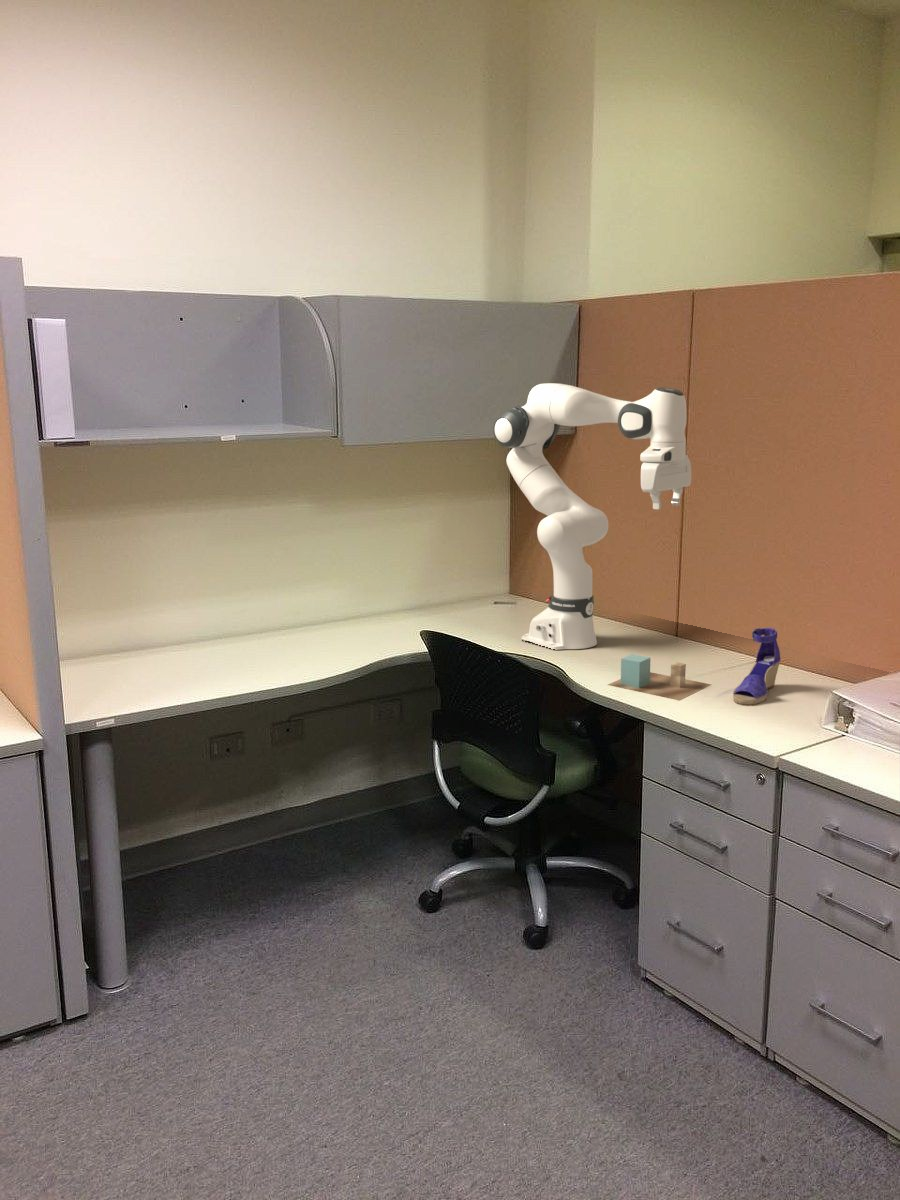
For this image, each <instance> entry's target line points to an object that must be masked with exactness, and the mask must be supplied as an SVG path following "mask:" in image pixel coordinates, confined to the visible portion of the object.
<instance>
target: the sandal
mask: <svg viewBox="0 0 900 1200" xmlns="http://www.w3.org/2000/svg"><path fill="white" fill-rule="evenodd" d="M751 635H752V636H751V638H752V640H753V642H756V643H760V645H759V648H758V651H757V654H756V658H755V662H754V664H753V665H752V666H751V668H750V670H749V672H748V674H747V675H746V676H745V677H744V678H743V680H742V681H741V683H740V684H739V685H738V686H737V687H736V688H735V689H734V690H733V693H732V698H733V702H734V703H735V704H737V705H741V706H754V705H759V704H761V703H764V702H765V701H766V700H767V697H768V690H770V689H773V688H774V687H775V683H776V678H777V674H778V671H779V666H780V664H781V663H780V662H781V653H780V651H781V650H780V647H779V645H778V642H777V639H778V631H777V630H776V629H775V628H772V627H765V628H764V627H763V628H760V627H759V628H755V629H753V630H752V631H751Z"/></svg>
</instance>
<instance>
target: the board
mask: <svg viewBox="0 0 900 1200" xmlns="http://www.w3.org/2000/svg"><path fill="white" fill-rule="evenodd" d="M670 681H671V675H665V674H661V673H656V672H653V671H652V672H651V671H650V683H649V684H647V685H645V686H643V687H640V688H636V687H631V686H626V685H622V684H621V678H619V679H617V680H615V681H612V682H610V683H608V684H607V686H610V687H614V688H615V687H616V688H619V689H620V688H621V689H623V690H624V689H625V690H629V691H634V692H637V693H638V692H639V693H642V694H647V695H652V696H656V697H661V698H666V699H671V700H676V701H678V702H679V701H682V700H684V699H686V698H688V697H690V696H692V695H694V694H695V693H697V692H700V691H701V690H702V691H703V690H704V689H706V688H707V687H710V686H712V684H711V683H706V682H700V681H695V680H691V679H686V678H685V686H683V687H681V688H678V687H673V686H670Z"/></svg>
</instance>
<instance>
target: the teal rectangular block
mask: <svg viewBox="0 0 900 1200" xmlns="http://www.w3.org/2000/svg"><path fill="white" fill-rule="evenodd" d="M620 659H621V660H620V679H621V684H622V685H626V686H631V687H636V688H640V687H643V686H645V685H647V684H649V683H650V672H651V657H649V656H644V655H638V654H633V653H632V654H630V655H626V656H624V657H623V658H620Z"/></svg>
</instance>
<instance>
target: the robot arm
mask: <svg viewBox="0 0 900 1200" xmlns="http://www.w3.org/2000/svg"><path fill="white" fill-rule="evenodd" d="M687 411H688V410H687V400H686V397H685V394H684V392H682V391H681V390H679V389H677V388H671V387H657V388H654V390H652V392H651V393H649V394H647V396H645V397H643V398H641V399H637V400H634V401H629V400H625V399H618V398H613V397H609V396H607V395H604V394H601V393H597V392H593V391H591V390H588V389H584V388H582V387H577V386H574V385H570V384H566V383H565V384H564V383H554V382H553V383H552V382H550V383H549V382H547V383H539V384H537V385H535V386H534V387H532V388H531V390H530V391H529V394H528V396H527V401H526V403H525V404H524V405H522V406H520V405H515V406H514V407H512V408H509V409H508V410H505V411H504V412H502V413H500V414H498V416H497V417H496V418H495V420H494V422H493V426H492V431H493V436H494V439H495V441H496V442H497V443H498V444H499V445H500V446H501V447H505V448H510V451H509V452H508V454H507V456H506V461H505V462H506V466H507V467H508V470H509V472H510V474H511V477H513V480H514V481H515V483H516V484H517V486H518V488H519V489H520V491H521V492H522V493H523V494H524V496H525V497H526V499H527V500H528V502H529V503H530V504H531V506H532V507H533V509H535V510H536V511H537V512H540V513H541V514H543V515H545V516H546V517H544V518H542V519H541V520H540V522H539V523H538V526H537V529H536V535H537V540H538V542H539V544H540V546H542V547H543V549H545V550H546V551H547V554H548V555H549V558H550V561H551V562H550V563H551V566H552V572H553V574H552V575H553V594H552V595H550V596H549V597H545V599H546V600H545V602H549V604H548V605H547V607H546V608H545V609H544V610H542V611H541V612H539V613H538V614H536V615H535V616H534V617H533V618H532V619H531V620H530V624H529V630H528V632H527V633H524V634H523V635H522V636H521V639H524V640H527V641H530V642H533V643H535V644H538V645H537V646H539V645H541V646H540V647H542V646H545V647H544V648H546V647H548V648H547V649H549V648H551V649H550V650H553V649H555V650H554V651H560V650H583V649H589V648H592V647H595V646H596V645H598V641H597V637H596V632H595V626H594V617H593V616H594V610H595V609H594V608H595V606H594V603H595V598H594V595H593V568H592V567H591V566H590V565H589V564H588V563H587V562H586V559H585V556H584V552H583V547H586V546H592V545H594V544H597V543H598V542H599V541H601V540H603V538H605V537H606V535H607V533H608V531H609V524H610V523H609V520H608V516H607V515H606V514H605V512H604V511H602V510H600V509H598V508H596V507H594V506H593V505H590V504H589V503H587V502H586V501H585V500H583V499H582V498H581V497H580V496H579V495H578V494H576V493H575V492H574V491H573V490H572V489H571V488H569V486H567V484H565V482H564V481H563V479H562V478H561V477H560V476H559V475H558V473H557V472H556V470H555V469H554V468H553V467H552V465H551V464H550V463H549V461H548V460H547V458H546V457H545V455H544V453H543V450H546V449H549V447H550V446H551V444H552V442H553V441H554V439H555V438H556V437H557V435H558V434H559V430H560V427H561V426H564V427H565V426H566V427H583V426H591V425H596V424H607V423H609V424H610V423H613V424H617V426H618V430H619V432H620V433H621V434H622V436H624V437H625V438H627V439H631V440H643V439H645V440H646V439H649V440H650V441H649V443H650V445H649V446H648V447H647V448H646V449H645V450H644V451H642V452H641V453H640V456H639V457H640V458H639V459H640V462H641V467H640V488H641V490H642V492H643V493H649V496H650V499H651V501H652V509H653V510H661V509H662V505H663V501H661V499H660V496H661V492H666V491H669V490H670V491H671V490H672V492H673V495H672V497H671V498H670V501H671V502H670V505H671V506H679V505H680V504H681V503H680V502H681V500H680V499H681V497H682V494H683V492H684V488H685V487H690V486H691V484H692V465H691V460H690V458H689V455H688V454H687V452H686V451H687V450H686V444H687V438H686V435H685V430H686V427H687V414H688V413H687ZM521 639H520V640H521ZM535 644H534V645H535Z"/></svg>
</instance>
